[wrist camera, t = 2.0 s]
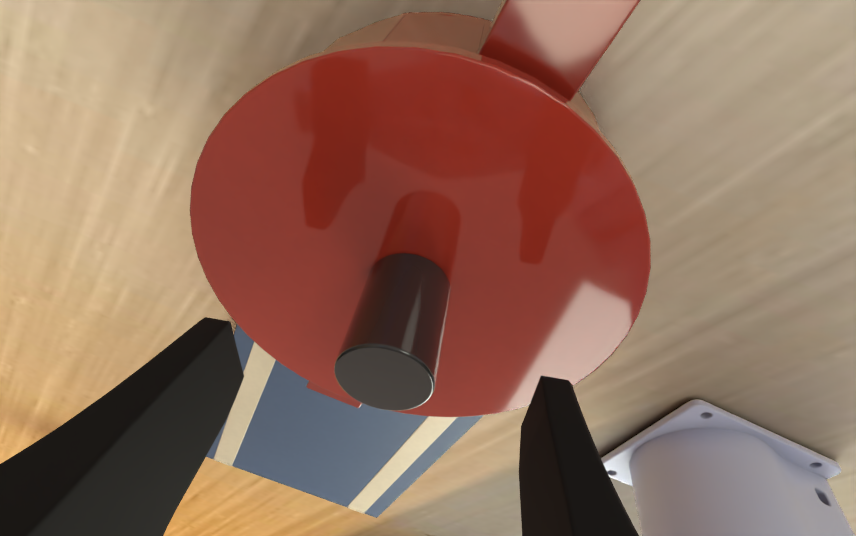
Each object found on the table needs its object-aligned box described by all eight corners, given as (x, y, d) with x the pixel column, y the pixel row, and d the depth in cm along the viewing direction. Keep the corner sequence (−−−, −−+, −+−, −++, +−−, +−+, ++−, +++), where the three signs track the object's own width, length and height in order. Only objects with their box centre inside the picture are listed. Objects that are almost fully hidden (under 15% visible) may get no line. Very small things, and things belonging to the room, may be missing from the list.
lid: (759, 194, 12) (859, 328, 8) (493, 432, 20) (487, 550, 16) (257, -88, 10) (107, -68, 6) (186, 306, 17) (104, 412, 14)
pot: (747, 45, 14) (842, 117, 10) (466, 364, 25) (456, 463, 20) (374, -187, 12) (297, -221, 8) (245, 269, 23) (184, 357, 18)
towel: (506, 387, 25) (506, 394, 25) (378, 512, 37) (376, 518, 37) (252, 278, 23) (248, 284, 23) (201, 449, 35) (198, 454, 34)
